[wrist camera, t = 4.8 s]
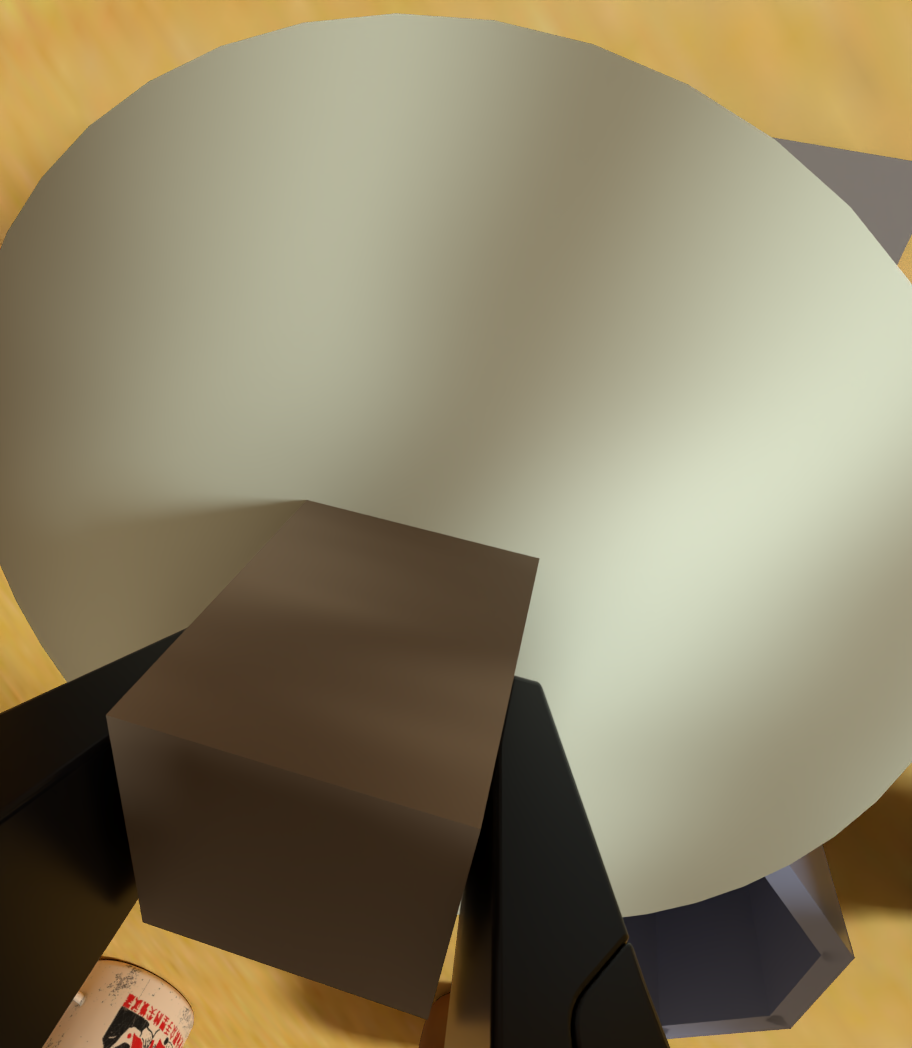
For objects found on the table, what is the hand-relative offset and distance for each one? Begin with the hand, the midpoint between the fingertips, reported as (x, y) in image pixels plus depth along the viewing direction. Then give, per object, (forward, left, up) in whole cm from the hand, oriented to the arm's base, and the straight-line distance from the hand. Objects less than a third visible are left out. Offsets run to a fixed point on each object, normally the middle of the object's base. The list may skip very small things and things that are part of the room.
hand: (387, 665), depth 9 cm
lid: (0, 0, -2) cm, 2 cm away
